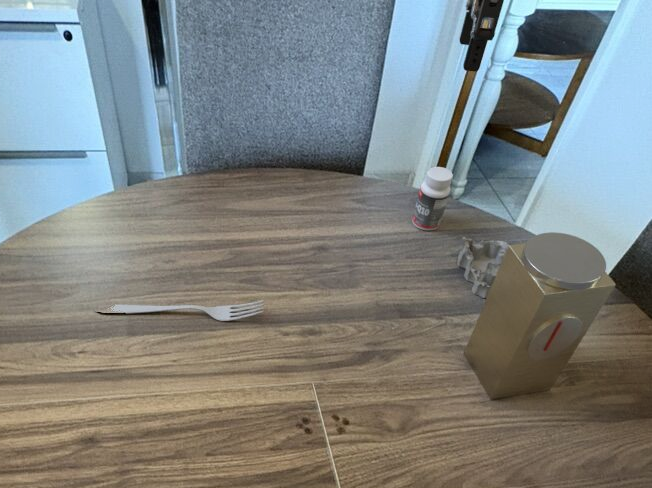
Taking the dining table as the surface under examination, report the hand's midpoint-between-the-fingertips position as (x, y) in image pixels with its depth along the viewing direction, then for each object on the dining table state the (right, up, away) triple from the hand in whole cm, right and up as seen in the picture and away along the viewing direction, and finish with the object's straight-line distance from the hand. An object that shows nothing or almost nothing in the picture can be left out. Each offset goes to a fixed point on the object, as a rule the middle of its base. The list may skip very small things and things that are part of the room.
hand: (468, 56), depth 88 cm
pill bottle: (-2, -17, +15) cm, 23 cm away
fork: (-42, -37, 0) cm, 56 cm away
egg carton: (+5, -29, +8) cm, 30 cm away
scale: (+4, -46, -3) cm, 46 cm away
